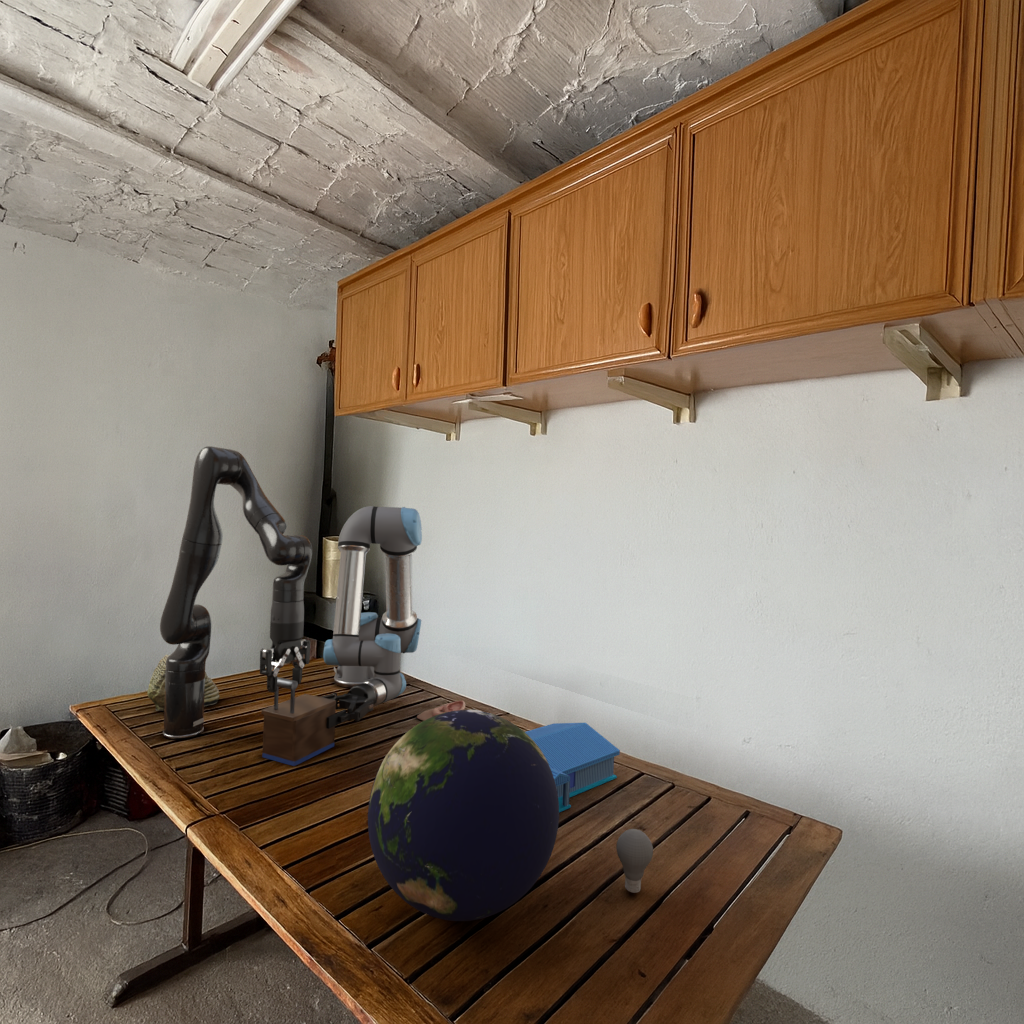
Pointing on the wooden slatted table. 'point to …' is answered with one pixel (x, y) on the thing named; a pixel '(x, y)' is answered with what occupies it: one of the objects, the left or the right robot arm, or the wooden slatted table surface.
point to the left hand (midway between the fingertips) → (284, 687)
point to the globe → (463, 815)
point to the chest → (297, 737)
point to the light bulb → (634, 857)
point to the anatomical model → (442, 710)
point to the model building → (575, 757)
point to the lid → (295, 703)
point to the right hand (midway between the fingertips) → (310, 719)
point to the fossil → (158, 687)
